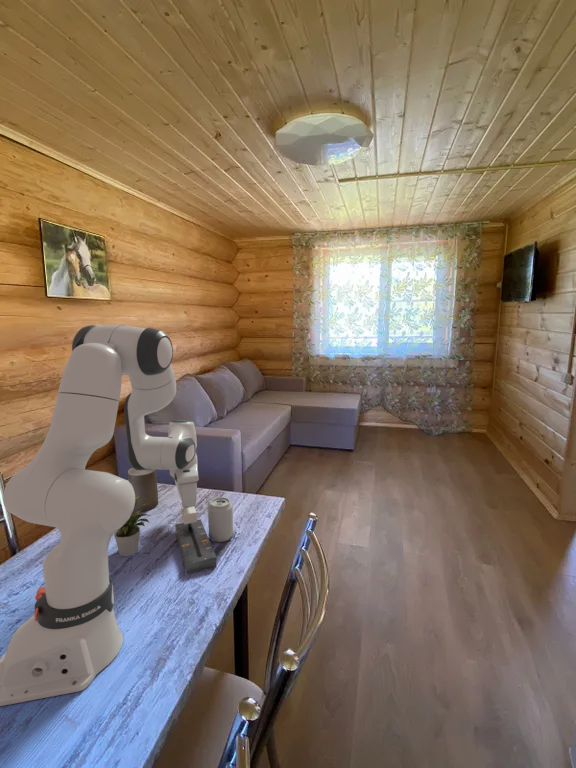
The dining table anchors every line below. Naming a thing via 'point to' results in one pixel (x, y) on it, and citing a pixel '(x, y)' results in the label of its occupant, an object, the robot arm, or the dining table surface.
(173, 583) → the dining table surface
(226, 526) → the can
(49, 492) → the robot arm
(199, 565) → the fader panel
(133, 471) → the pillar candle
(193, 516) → the fader knob
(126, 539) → the house plant
